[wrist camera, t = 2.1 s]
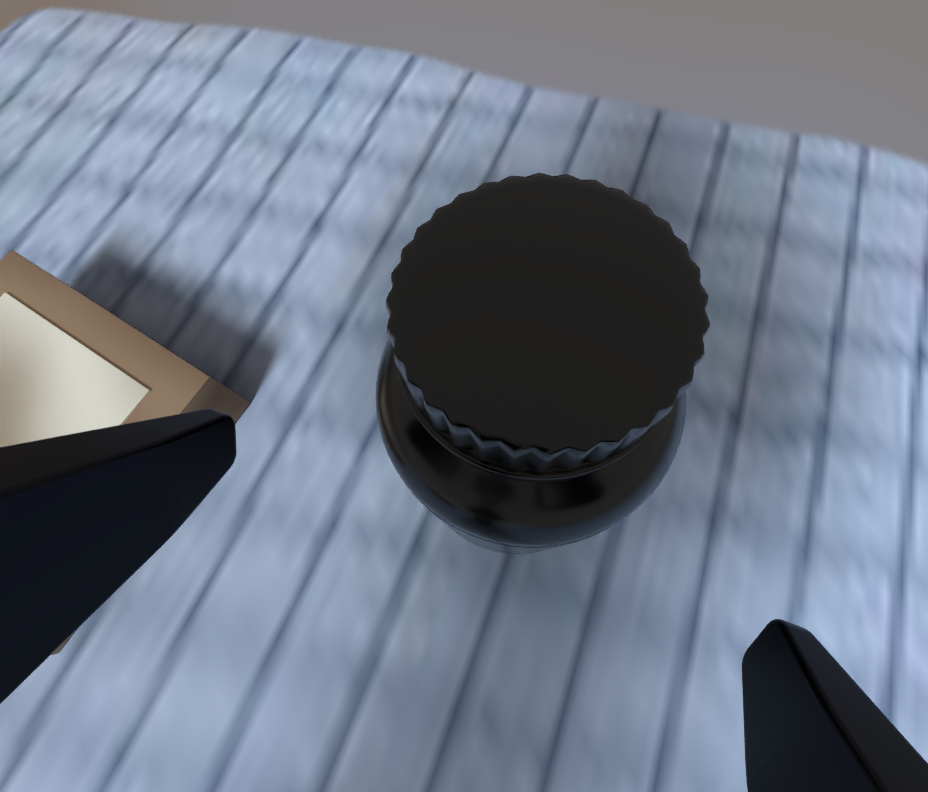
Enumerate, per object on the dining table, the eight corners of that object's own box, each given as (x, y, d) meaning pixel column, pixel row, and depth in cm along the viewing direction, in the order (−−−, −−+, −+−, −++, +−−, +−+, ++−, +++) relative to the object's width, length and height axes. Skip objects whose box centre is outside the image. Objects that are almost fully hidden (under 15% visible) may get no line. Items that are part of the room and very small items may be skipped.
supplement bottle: (621, 540, 17) (875, 510, 6) (434, 565, 17) (315, 585, 6) (582, 365, 19) (707, 93, 8) (417, 389, 19) (305, 155, 8)
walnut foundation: (57, 653, 17) (-34, 673, 14) (-119, 492, 19) (-229, 481, 16) (250, 402, 20) (208, 375, 17) (74, 288, 22) (9, 248, 19)
